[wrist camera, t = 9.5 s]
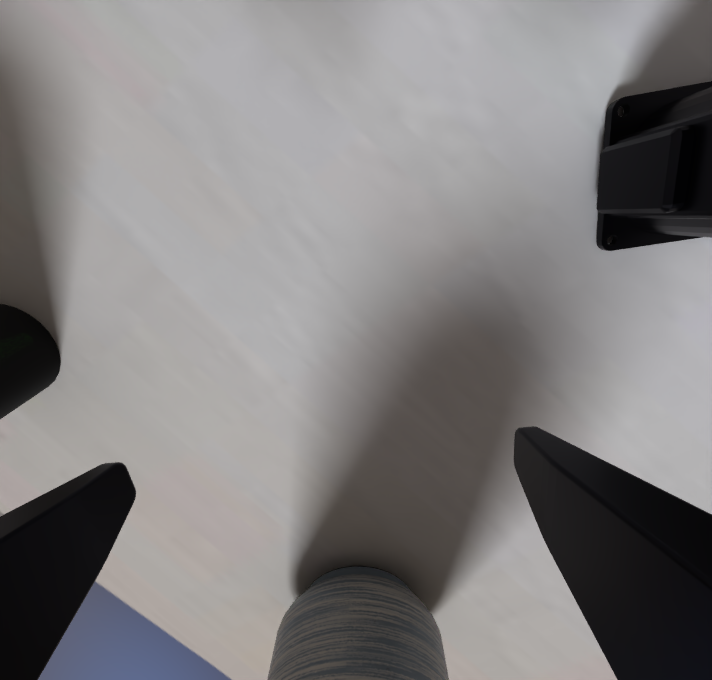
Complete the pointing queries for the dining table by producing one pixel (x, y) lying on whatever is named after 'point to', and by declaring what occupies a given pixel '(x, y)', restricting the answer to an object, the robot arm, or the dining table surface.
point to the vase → (358, 631)
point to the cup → (24, 358)
